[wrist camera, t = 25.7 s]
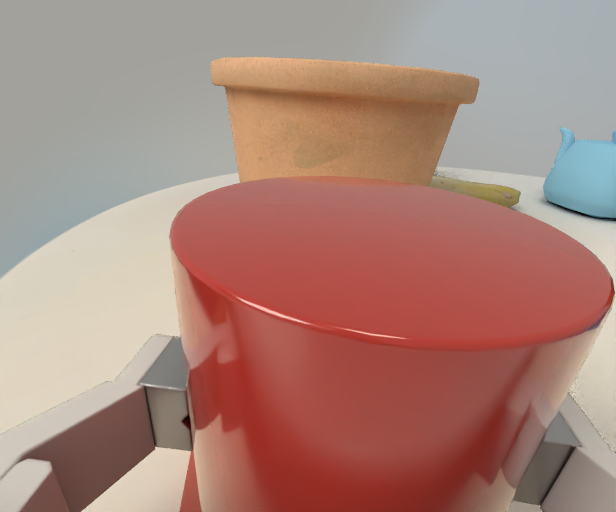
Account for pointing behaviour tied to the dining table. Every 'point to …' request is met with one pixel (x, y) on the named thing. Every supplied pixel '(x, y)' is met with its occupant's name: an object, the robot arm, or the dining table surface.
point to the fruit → (478, 190)
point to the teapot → (584, 176)
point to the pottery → (339, 117)
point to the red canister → (374, 343)
